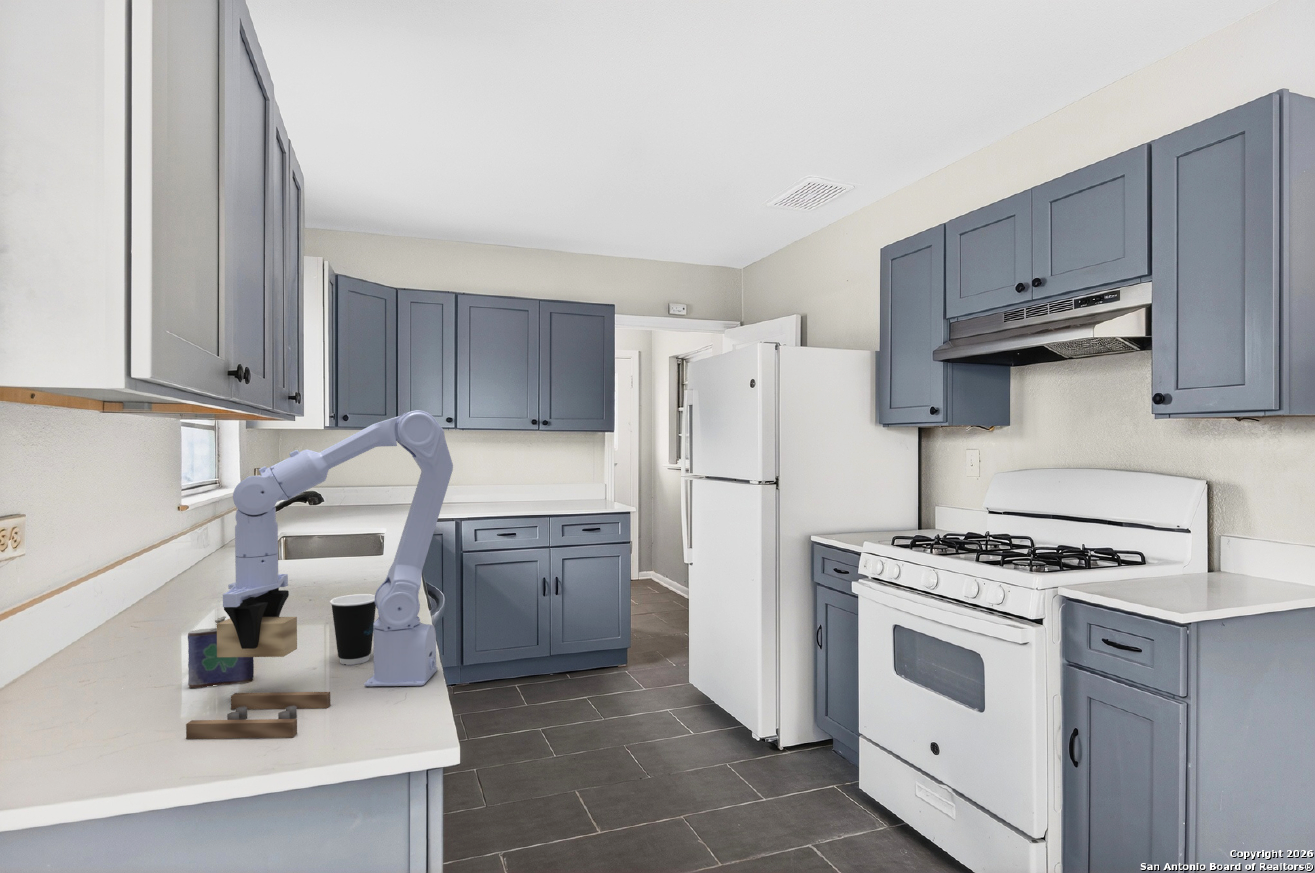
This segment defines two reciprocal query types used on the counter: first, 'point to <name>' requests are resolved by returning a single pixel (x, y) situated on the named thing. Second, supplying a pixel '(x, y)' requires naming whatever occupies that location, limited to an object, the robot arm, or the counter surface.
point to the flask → (214, 661)
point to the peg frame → (259, 727)
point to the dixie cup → (354, 627)
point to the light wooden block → (273, 640)
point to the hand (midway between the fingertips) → (257, 643)
